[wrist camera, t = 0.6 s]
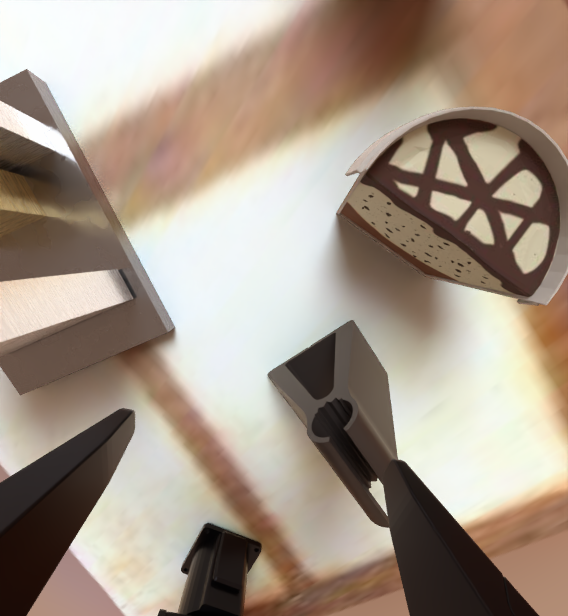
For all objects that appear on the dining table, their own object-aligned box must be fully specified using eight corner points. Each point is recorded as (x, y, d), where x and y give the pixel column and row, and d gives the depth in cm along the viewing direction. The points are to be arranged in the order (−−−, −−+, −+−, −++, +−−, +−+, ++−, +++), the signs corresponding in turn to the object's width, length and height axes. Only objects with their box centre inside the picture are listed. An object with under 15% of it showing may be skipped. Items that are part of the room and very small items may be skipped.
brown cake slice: (486, 223, 22) (649, 202, 13) (438, 286, 23) (554, 311, 14) (367, 131, 21) (446, 23, 11) (321, 202, 22) (355, 161, 12)
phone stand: (302, 421, 26) (322, 564, 14) (267, 372, 25) (256, 482, 13) (385, 372, 25) (481, 480, 13) (352, 319, 24) (424, 385, 12)
